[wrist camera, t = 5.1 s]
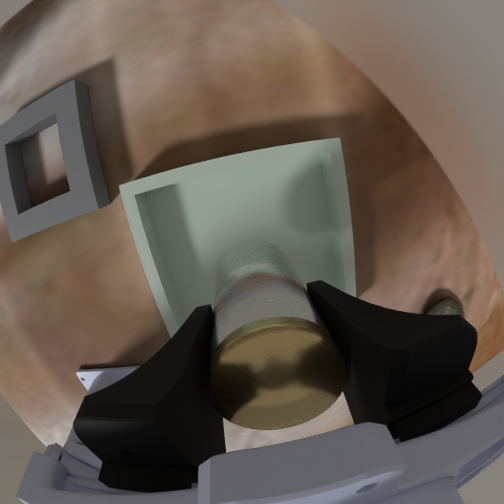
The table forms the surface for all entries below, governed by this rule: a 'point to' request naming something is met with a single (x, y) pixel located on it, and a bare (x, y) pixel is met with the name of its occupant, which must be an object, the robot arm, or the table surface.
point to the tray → (242, 220)
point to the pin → (269, 343)
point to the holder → (74, 155)
